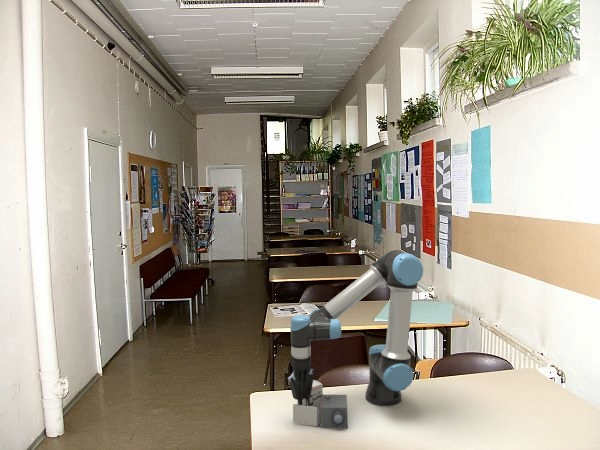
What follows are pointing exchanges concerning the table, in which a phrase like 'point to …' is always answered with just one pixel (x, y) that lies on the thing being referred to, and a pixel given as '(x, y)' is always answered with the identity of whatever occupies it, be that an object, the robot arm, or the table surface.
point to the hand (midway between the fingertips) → (302, 414)
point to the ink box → (315, 395)
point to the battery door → (306, 415)
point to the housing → (334, 411)
